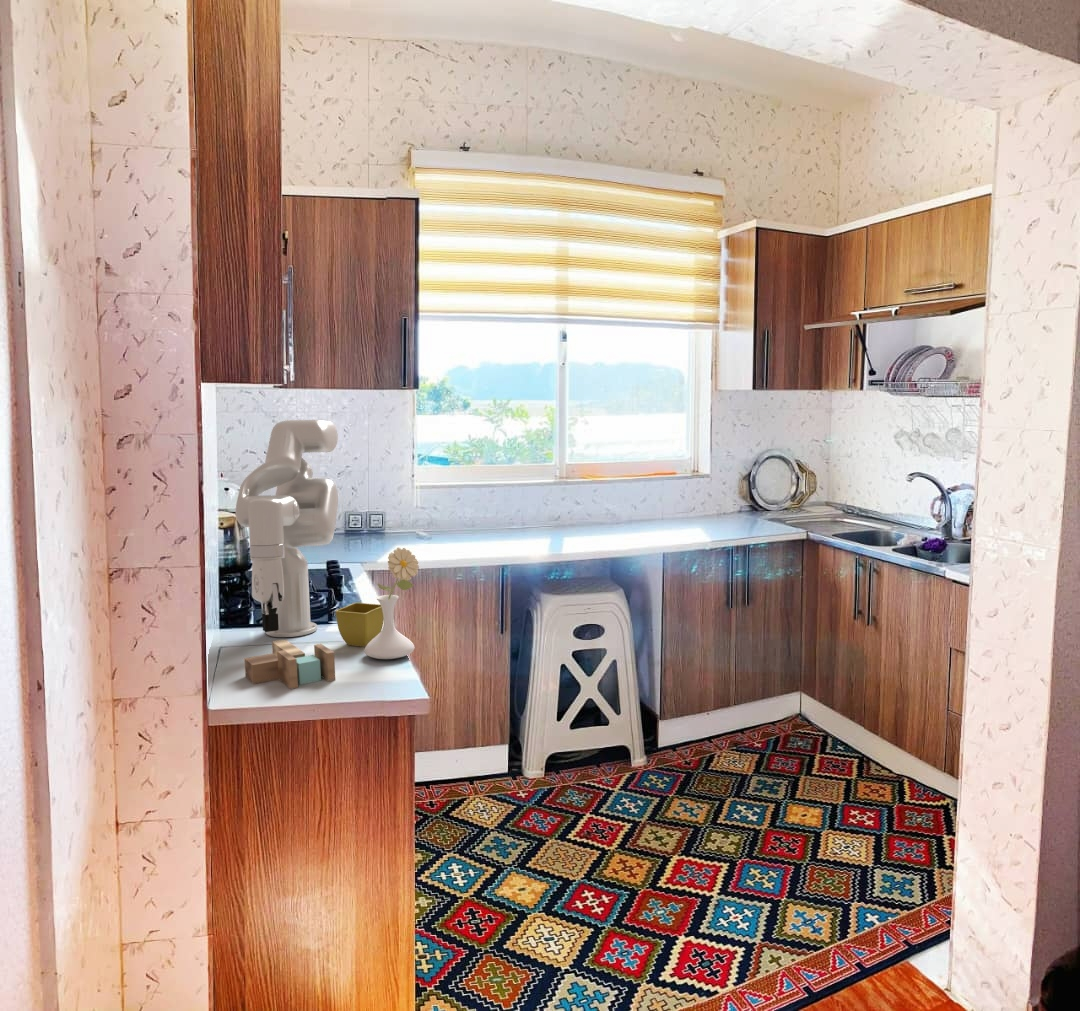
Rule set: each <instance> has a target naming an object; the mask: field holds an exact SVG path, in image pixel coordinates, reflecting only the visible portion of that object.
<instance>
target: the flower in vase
mask: <svg viewBox="0 0 1080 1011" xmlns="http://www.w3.org/2000/svg"><path fill="white" fill-rule="evenodd" d="M387 559H388V560H387V564H388V570H389V571H390V573H391V574H393V576H394V578H396V580H395V583H394V585H393V586H392V588H391V587H389V586H385V585H382V584H380V583H377V587H378V588H379V589H380V590H385V591H389V594H384V595H379V596H377V597H376V600H377V601H378V602H379V603H378V604H379V605H381V607H382V611H383V618H384V620H383V627H382V630H381V632H380V633H379V634H378V635H377V636H376V637H375V638H373V639H372V640H371V641H370V642H369V643H368V644H367V646H365V647H364V653H365V654H366V656H367V657H370V658H374V659H376V660H377V659H378V660H393V659H400V658H403V657H406V656H408V655H410V654H412V653H413V652H414V651H415V649H416V648H415V645H414V643H413V642H412V641H411V640H410V639H409V638H408V637H406V636H405V635H403V634H402V633H401V632H399V631H398V630H397V629H396V627H395V624H394V623H395V621H394V613H395V612H394V610H395V606H396V603H397V601H398V600H399V598H400V597H399V595H395V594H392V593H393V592H394V590H395V588H396V587H398V588H399V589H400V590H401V591H408V590H409V589H412V588H413V587H414V584H413V583H412V582H411V581H410V580H411V579H412V577H413V578H414V577H416V575H418V574H419V571H418V569H419V568H420V566H419V565H418V564H419V561H418V558H416V556H415V555H414V554H412V551H411V550H410V549H406V548H405V547H403V548H400V547H396V549H394V550H393V552H390V553H389V554H388V557H387ZM399 579H400V580H399ZM398 580H399V581H398Z"/></svg>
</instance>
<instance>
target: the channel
mask: <svg viewBox="0 0 1080 1011" xmlns="http://www.w3.org/2000/svg"><path fill="white" fill-rule="evenodd" d="M313 647H314V650H313V651H314V656H315V657H316V658H318V659H319V660H320V670H321V678H323V679H325V680H326V681H327V680H328V681H327V682H331V680H333V681H336V662H335V660H336V659H335V652H334V651H333V650H331V649H330V648H329V647H326V646H325V645H324V644H322V643H318V644H314V645H313ZM277 658H278V677H279V679H278V680H279V681H280V682H282V683H283V684H284V685H285V686H286V687H287V688H289V689H292V690H293V689H297V688H299V683H298V680H297V661H296V658H294V657H293V656H292V655H290V654H289V653H287V652H286V651H285V650H282V651H277Z"/></svg>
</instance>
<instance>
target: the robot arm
mask: <svg viewBox="0 0 1080 1011" xmlns="http://www.w3.org/2000/svg"><path fill="white" fill-rule="evenodd" d="M337 444H338V431H337V426H336V425H335V424H334V422H332V421H330V420H321V419H299V420H298V419H289V420H282V421H280V422H277V423H276V424H275V425H273V427H272V429H271V432H270V437H269V441H268V446H267V452H266V456H265V462H264V463H262V464H260V465H259V466H258V467H256V468H255V469H254V470H253V471H251V472H250V473H249V474H248V475H247V476H246V477H245V478H244V480H242V482H241V485H240V487H239V489H238V495H237V498H236V504H235V518H236V521H237V523H238V524H239V525H240V526H242V527H244V528H248V530H249V531H248V532H249V534H248V535H249V536H248V538H249V555H250V557H249V559H250V560H252V564H251V596H252V599H254V600H255V601H257V602H258V603H261V604H260V605H261V614H262V615H261V617H262V618H261V620H262V631H263V632H265V634H266V635H267V636H269V637H275V638H294V637H300V636H301V637H302V636H305V635H306V636H307V635H309V634H312V633H314V632H316V631H317V630H318V624H317V623H315V622H312V621H311V608H310V607H311V606H310V604H311V603H310V584H309V565H308V561H307V559H306V557H305V556H304V554H303V553H302V552H301V550H300V549H299V547H315V546H316V547H317V546H318V547H319V546H325V545H329V544H330V543H331V542H332V541H333V538H334V535H335V530H336V521H337V513H338V503H339V495H338V494H339V493H338V488H337V485H336V484H335V483H334V481H333V480H331V479H329V478H322V477H317V478H316V477H315V478H314V477H313V475H314V474H313V473H314V472H313V469H312V468H311V466H310V464H309V463H308V462H307V461H306V460H305V459H304V458H303V454H304V453H331V452H333V451H334V450H335V449H336V447H337ZM273 488H276V490H275V495H271V494H269V495H261V494H262V493H264V492H266V491H268V490H271V489H273Z"/></svg>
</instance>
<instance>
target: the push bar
mask: <svg viewBox="0 0 1080 1011" xmlns="http://www.w3.org/2000/svg"><path fill="white" fill-rule="evenodd" d="M271 645H272V646H271V648H272V649H271V650H272V654H274V655H275V656H277V651H282V650H285V651H286V652H287V653H289V654H290V655H292V656H293V657H294V658H299V657H304V656H306V654H305V652H304V651H302V650H301V649H300V648H298V647H297V646H295V645H294V644H292V643H291V642H289V641H288V640H287V639H284V638H283V639H279V640H274V641H271Z"/></svg>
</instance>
